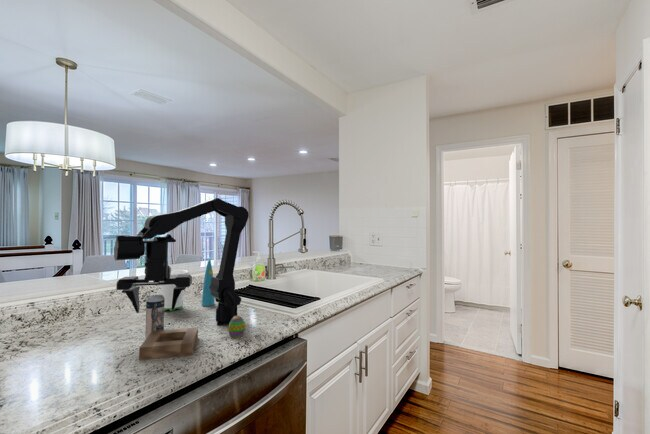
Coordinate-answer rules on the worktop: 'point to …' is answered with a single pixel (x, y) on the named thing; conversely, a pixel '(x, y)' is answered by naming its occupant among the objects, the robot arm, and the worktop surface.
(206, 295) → the tube
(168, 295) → the cup
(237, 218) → the robot arm
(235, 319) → the egg
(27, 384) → the worktop surface
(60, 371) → the worktop surface
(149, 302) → the beer can
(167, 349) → the socket
